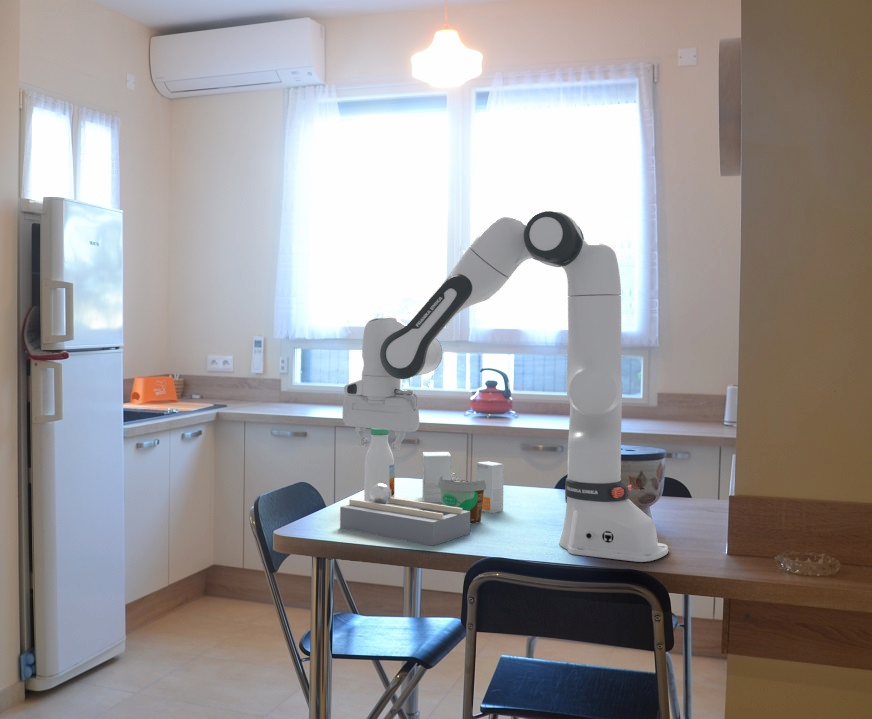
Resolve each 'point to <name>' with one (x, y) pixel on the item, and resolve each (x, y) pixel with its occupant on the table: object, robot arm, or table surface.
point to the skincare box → (491, 485)
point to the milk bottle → (379, 463)
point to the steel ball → (380, 494)
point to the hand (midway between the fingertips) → (379, 448)
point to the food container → (463, 496)
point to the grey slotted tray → (406, 520)
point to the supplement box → (435, 474)
